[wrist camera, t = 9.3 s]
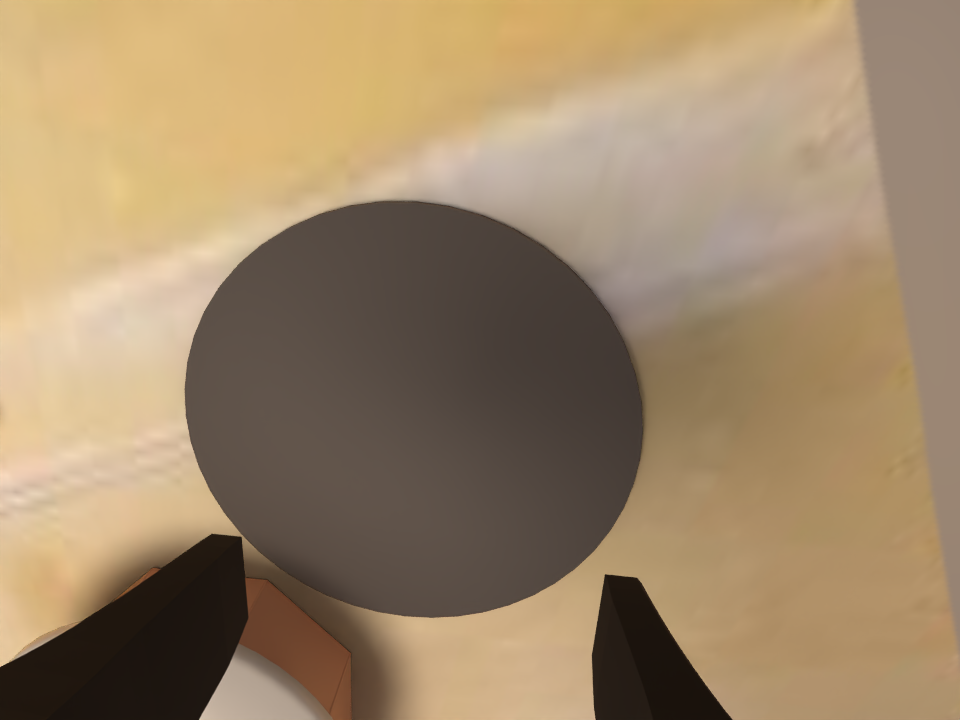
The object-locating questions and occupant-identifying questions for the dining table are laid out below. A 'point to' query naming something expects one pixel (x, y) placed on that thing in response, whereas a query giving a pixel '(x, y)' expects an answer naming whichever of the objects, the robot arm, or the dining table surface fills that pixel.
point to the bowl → (294, 645)
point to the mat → (414, 409)
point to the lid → (245, 689)
